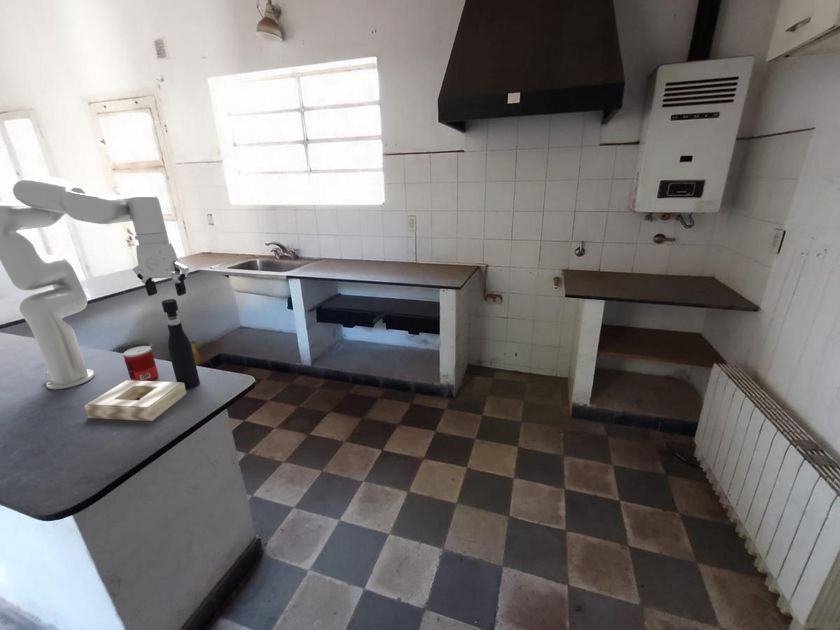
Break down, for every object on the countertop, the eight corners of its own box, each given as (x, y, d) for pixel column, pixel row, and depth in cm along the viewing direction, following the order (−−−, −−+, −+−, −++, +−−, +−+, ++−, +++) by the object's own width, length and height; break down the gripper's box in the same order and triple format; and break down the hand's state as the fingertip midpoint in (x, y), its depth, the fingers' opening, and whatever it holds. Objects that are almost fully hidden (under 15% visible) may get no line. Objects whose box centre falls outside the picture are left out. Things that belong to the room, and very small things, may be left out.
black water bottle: (183, 392, 125) (161, 305, 115) (174, 386, 129) (153, 301, 118) (203, 384, 130) (184, 300, 120) (194, 378, 133) (175, 296, 123)
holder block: (88, 417, 112) (83, 404, 110) (129, 391, 126) (126, 379, 124) (152, 421, 110) (148, 407, 109) (186, 393, 124) (183, 381, 123)
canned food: (163, 374, 137) (156, 346, 133) (146, 385, 129) (138, 356, 126) (144, 373, 138) (136, 345, 134) (125, 384, 130) (116, 355, 126)
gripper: (115, 241, 110) (132, 298, 116) (171, 240, 108) (185, 298, 114) (136, 237, 117) (150, 291, 123) (189, 236, 115) (201, 291, 121)
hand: (167, 294), depth 118 cm, fingers open, 9 cm apart
